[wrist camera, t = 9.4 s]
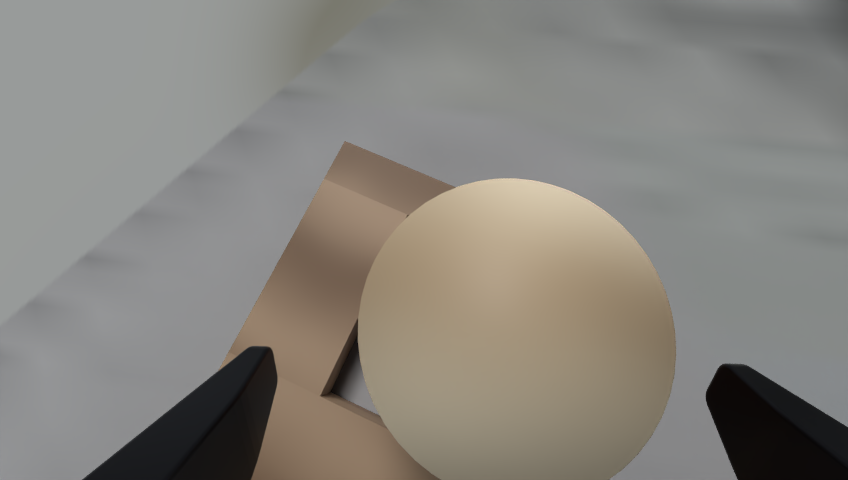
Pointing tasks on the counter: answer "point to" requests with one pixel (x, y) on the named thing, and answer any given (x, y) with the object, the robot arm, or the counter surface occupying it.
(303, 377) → the brown wooden flat piece
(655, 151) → the counter surface
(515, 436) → the beige rounded piece
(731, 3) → the counter surface
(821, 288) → the counter surface
